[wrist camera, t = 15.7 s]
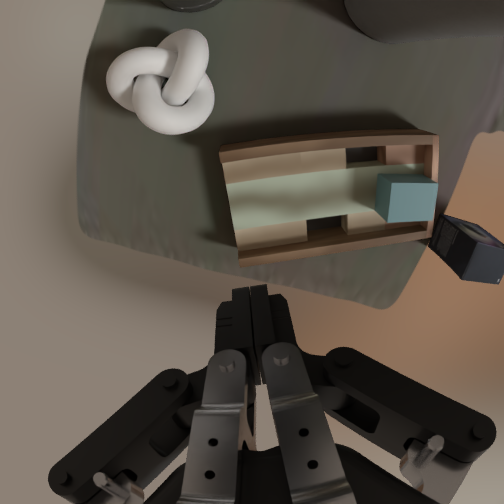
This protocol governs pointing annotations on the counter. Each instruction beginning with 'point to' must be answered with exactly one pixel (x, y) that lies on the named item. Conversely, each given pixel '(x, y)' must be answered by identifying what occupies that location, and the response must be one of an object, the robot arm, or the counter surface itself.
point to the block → (405, 197)
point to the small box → (468, 250)
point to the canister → (426, 19)
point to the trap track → (320, 191)
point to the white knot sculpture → (175, 90)
